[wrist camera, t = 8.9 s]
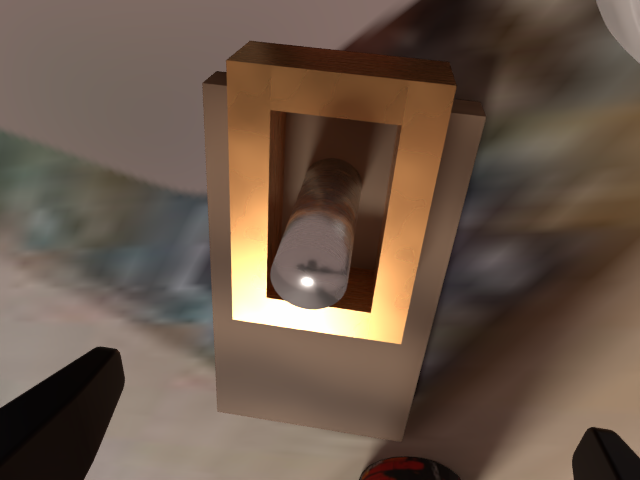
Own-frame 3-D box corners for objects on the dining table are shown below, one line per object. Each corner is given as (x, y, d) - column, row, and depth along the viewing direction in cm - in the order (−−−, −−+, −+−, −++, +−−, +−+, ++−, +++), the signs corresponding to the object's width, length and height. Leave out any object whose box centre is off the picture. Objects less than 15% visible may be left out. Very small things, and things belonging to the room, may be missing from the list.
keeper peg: (358, 214, 18) (343, 314, 14) (302, 206, 18) (269, 303, 14) (365, 162, 17) (351, 252, 13) (306, 154, 17) (271, 241, 13)
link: (401, 299, 20) (400, 344, 18) (250, 278, 21) (232, 319, 18) (448, 62, 15) (456, 85, 13) (249, 40, 16) (226, 60, 14)
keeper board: (401, 416, 26) (401, 442, 25) (226, 387, 26) (217, 411, 25) (480, 101, 17) (486, 116, 16) (216, 71, 18) (202, 83, 17)
